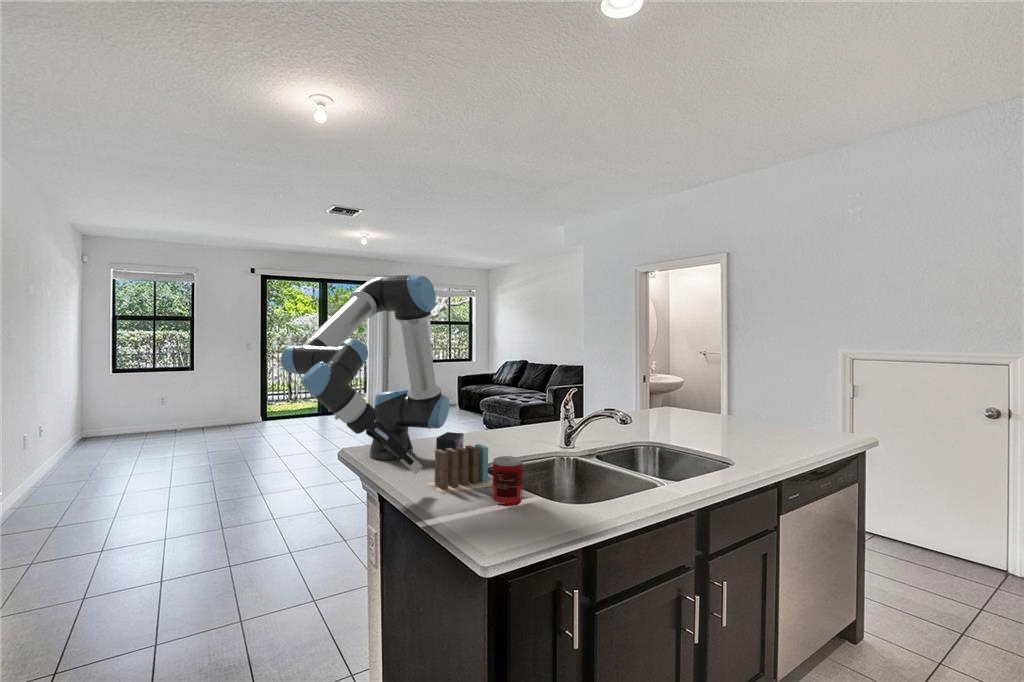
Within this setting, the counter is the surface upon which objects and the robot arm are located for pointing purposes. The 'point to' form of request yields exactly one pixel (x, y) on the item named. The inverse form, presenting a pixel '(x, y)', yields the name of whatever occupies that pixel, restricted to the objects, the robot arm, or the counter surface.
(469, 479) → the domino
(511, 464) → the canned food
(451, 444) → the small box
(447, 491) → the board
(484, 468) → the domino
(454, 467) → the domino
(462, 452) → the domino
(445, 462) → the domino
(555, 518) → the counter surface
